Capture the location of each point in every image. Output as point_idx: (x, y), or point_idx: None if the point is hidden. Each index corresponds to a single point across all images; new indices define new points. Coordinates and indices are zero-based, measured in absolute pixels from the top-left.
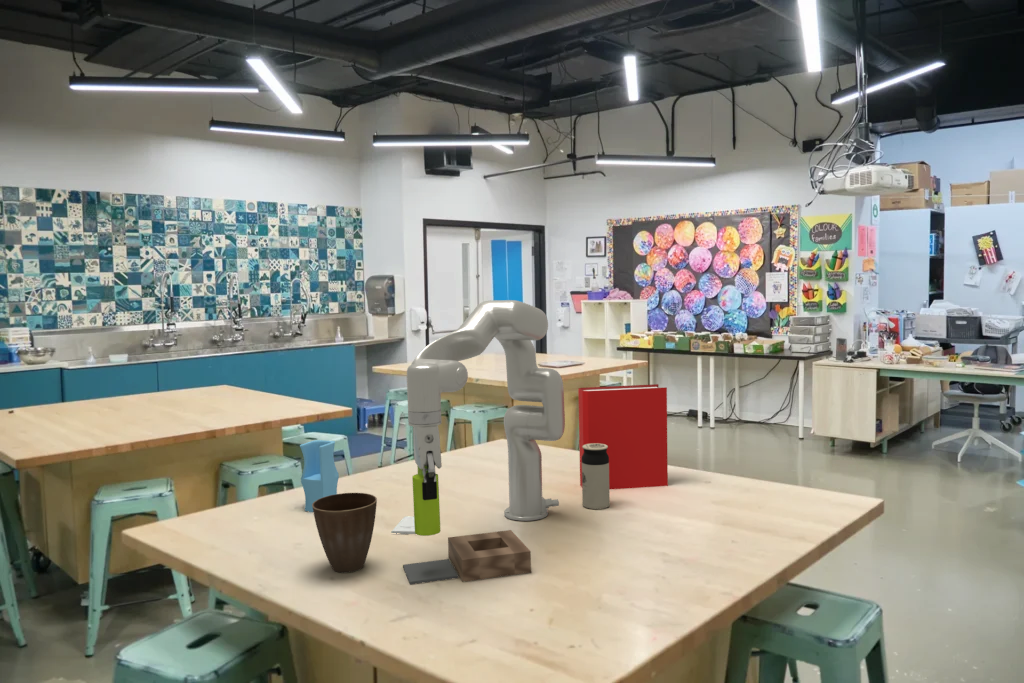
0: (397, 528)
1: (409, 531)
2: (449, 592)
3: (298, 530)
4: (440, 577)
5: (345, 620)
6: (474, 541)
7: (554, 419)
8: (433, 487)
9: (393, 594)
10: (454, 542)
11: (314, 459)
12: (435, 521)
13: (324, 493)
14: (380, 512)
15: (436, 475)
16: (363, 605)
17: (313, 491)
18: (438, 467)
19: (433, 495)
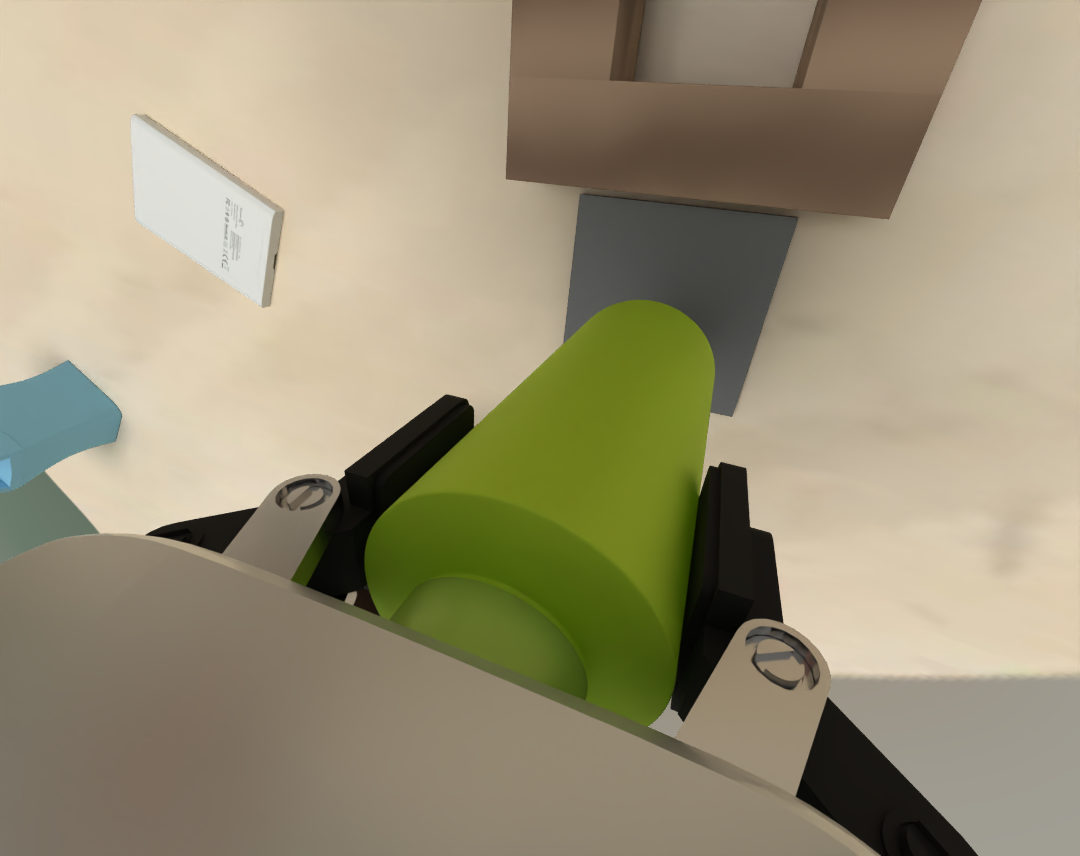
0: (240, 281)
1: (268, 250)
2: (928, 312)
3: (231, 495)
4: (767, 301)
5: (874, 644)
6: (616, 28)
7: None
8: (778, 599)
9: (780, 485)
10: (591, 168)
11: None
12: (706, 378)
13: (54, 428)
14: (96, 273)
15: (585, 562)
16: (802, 576)
17: (52, 452)
18: (634, 721)
19: (770, 534)
